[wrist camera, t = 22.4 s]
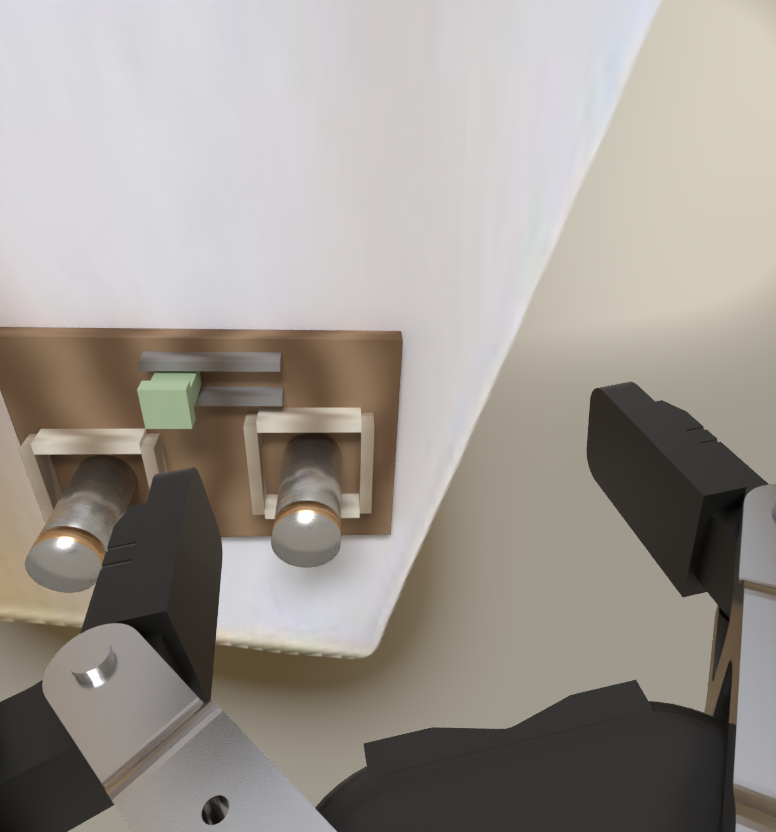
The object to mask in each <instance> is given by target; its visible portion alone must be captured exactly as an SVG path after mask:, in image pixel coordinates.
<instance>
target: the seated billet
mask: <svg viewBox="0 0 776 832" xmlns="http://www.w3.org/2000/svg"><path fill="white" fill-rule="evenodd" d="M136 486H137V476H136V474H135V472H134V470H133V469H132V468H131V467H130V466H129V465H128V464H127V463H125V462H124V461H122V460H120V459H118V458H116V457H112V456H108V455H95V456H91V457H88V458H86V459H84V460H83V461H82V462H81V463H80V464H79V466H78V468H77V469H76V471H75V473H74V475H73V476H72V478H71V480H70V482H69V483H68V485H67V487H66V489H65V491H64V492H63V494H62V496H61V498H60V499H59V501H58V503H57V505H56V506H55V508H54V510H53V512H52V513H51V515H50V517H49V519H48V521H47V522H46V524H45V526H44V528H43V529H42V531H41V533H40V535H39V536H38V538H37V539H36V541H35V543H34V545H33V546H32V548H31V550H30V552H29V554H28V556H27V558H26V560H25V567H26V571H27V572H28V574H29V575H30V577H31V578H32V579H33V580H34V581H36V582H37V583H38V584H40V585H42V586H43V587H46V588H48V589H51V590H54V591H58V592H66V593H72V592H80V591H83V590H86V589H88V588H90V587H91V586H93V585H94V584H95V582H96V581H97V579H98V575H99V572H100V570H101V569H102V562H103V559H104V556H105V553H106V552H108V549H107V546H108V543H109V540H110V537H111V534H112V530H113V527H114V525H115V524H116V523H117V522H118V521H119V519H120V518H121V517H122V516H123V514H124V513H125V512H126V510H127V508H128V505H129V503H130V501H131V498H132V496H133V494H134V491H135V489H136Z"/></svg>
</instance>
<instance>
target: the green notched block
mask: <svg viewBox="0 0 776 832" xmlns="http://www.w3.org/2000/svg"><path fill="white" fill-rule="evenodd" d="M201 386H202V382H201V375H200V371H155V373H154V375H153V377H152V379H151V381H141V383H140V385H139V387H138V389H137V392H138V397H139V401H140V406H141V410H142V415H143V420H144V424H145V429H192V428H193V425H194V423H195V420H196V418H195V412H194V405H195V402H196V400H197V397H198V394H199V391H200V389H201Z"/></svg>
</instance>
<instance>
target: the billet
mask: <svg viewBox="0 0 776 832" xmlns="http://www.w3.org/2000/svg"><path fill="white" fill-rule="evenodd" d="M341 471H342V454H341V450H340V447H339V446H338V444H337V443H336V442H335V441H334V440H333V439H331V438H330V437H328V436H326V435H323V434H320V433H304V434H301V435H298V436H296V437H294V438H293V439H292V440H291V441H290V442H289V443H288V444H287V445H286V447H285V450H284V456H283V463H282V470H281V477H280V484H279V491H278V498H277V505H276V512H275V519H274V524H273V531H272V540H271V545H272V549H273V551H274V553H275V554H276V555H277V556H278V557H279V558H280V559H281V560H282V561H284V562H286V563H288V564H290V565H293V566H297V567H316V566H320V565H323V564H325V563H327V562H329V561H330V560H332V559H333V558H334V557H335V556H336V555H337V553H338V551H339V549H340V540H341Z"/></svg>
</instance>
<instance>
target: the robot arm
mask: <svg viewBox="0 0 776 832" xmlns="http://www.w3.org/2000/svg"><path fill="white" fill-rule="evenodd" d="M587 460H588V464H589V468H590V471H591V473H592V475H593V477H594V479H595V481H596V482H597V483H598V484H599V486H600V487H601V489H602V490H603V491H604V493H605V494H606V495H607V497H608V498H609V499H610V501H611V502H612V503H613V505H614V506H615V507H616V509H617V510H618V511H619V513H620V514H621V515H622V517H623V518H624V519H625V521H626V522H627V523H628V525H629V526H630V527H631V529H632V530H633V531H634V533H635V534H636V535H637V537H638V538H639V539H640V541H641V542H642V543H643V545H644V546H645V547H646V549H647V550H648V551H649V553H650V554H651V556H652V557H653V558H654V559H655V561H656V562H657V564H658V565H659V566H660V568H661V569H662V570H663V571H664V573H665V574H666V576H667V577H668V578H669V580H670V581H671V582H672V583H673V585H674V586H675V587H676V589H677V590H678V592H679V593H680V594H681V596H682V597H686V596H690V595H695V594H700V593H704V592H708V593H709V594H710V596H711V597H712V598H713V599H714V601H715V602H716V603H717V604H718V605H717V609H716V614H715V622H714V631H713V641H712V652H711V661H710V672H709V681H708V691H707V700H706V706H705V712H704V713H703V712H700V711H697V710H694V709H691V708H687V707H683V706H679V705H675V704H669V703H662V702H653V701H648V700H647V698H646V697H645V695H644V693H643V691H642V690H641V688H640V686H639V684H638V683H637V681H636V680H633V681H629V682H625V683H620V684H616V685H612V686H608V687H603V688H599V689H595V690H590V691H586V692H582V693H578V694H574V695H570V696H568V697H566V698H565V699H563V700H561V701H559V702H558V703H556V704H554V705H552V706H550V707H548V708H547V709H545V710H543V711H541V712H539V713H537V714H536V715H534V716H532V717H530V718H528V719H527V720H525V721H523V722H521V723H519V724H517V725H516V726H513V727H511V728H507V729H474V728H428V729H424V730H420V731H415V732H411V733H407V734H403V735H398V736H394V737H390V738H385V739H381V740H377V741H373V742H369V743H364V749H365V757H366V763H367V767H364V768H363V769H361V770H359V771H357V772H355V773H354V774H352V775H351V776H349V777H348V778H347V779H345V780H344V781H342V782H341V783H340V784H338V785H337V786H336V787H335V788H334V789H333V790H332V791H331V792H330V793H328V794H327V795H326V796H325V797H324V798H323V799H322V801H321V802H320V803H319V804H318V805H317V806H316V807H315V808H314V807H313V806H312V805H311V804H310V802H309V801H308V800H307V799H306V798H305V797H304V796H303V795H302V794H301V793H300V792H299V791H298V790H297V789H296V788H295V787H294V785H292V783H291V782H290V781H289V780H288V779H287V778H286V777H285V776H284V775H283V774H282V773H281V772H280V771H279V770H278V769H277V767H276V766H275V765H274V764H273V763H272V762H271V761H270V760H269V759H268V758H267V757H266V756H265V755H264V754H263V753H262V752H261V750H260V749H259V748H258V747H257V746H256V745H255V744H254V743H253V742H252V741H251V740H250V739H249V738H248V737H247V736H246V734H245V733H244V732H243V731H242V730H241V729H240V728H239V727H238V726H237V725H236V724H235V723H234V722H233V721H232V720H231V719H230V717H229V716H227V714H226V713H225V712H224V711H223V710H222V709H221V708H220V707H219V706H218V705H217V704H216V703H214V702H213V701H212V700H210V699H211V688H212V676H213V664H214V652H215V640H216V628H217V616H218V604H219V592H220V580H221V568H222V543H221V536H220V532H219V528H218V525H217V522H216V519H215V516H214V513H213V511H212V508H211V505H210V502H209V499H208V497H207V494H206V491H205V488H204V485H203V482H202V480H201V477H200V474H199V472H198V470H197V469H196V468H195V467H191V468H186V469H181V470H176V471H170V472H165V473H160V474H155V475H154V477H153V479H152V483H151V487H150V491H149V495H148V499H147V503H142V504H137V505H132V506H130V507H129V508H128V510H127V511H126V512H125V513H124V514H123V516H122V517H121V518H120V519H119V521H118V522H117V523H116V524H115V525H114V527H113V530H112V534H111V537H110V540H109V543H108V546H107V549H108V552H106V553H105V556H104V559H103V562H102V569H101V570H100V572H99V575H98V579H97V582H96V585H95V588H94V591H93V595H92V598H91V601H90V604H89V607H88V611H87V614H86V617H85V620H84V624H83V627H82V630H81V633H80V634H79V635H78V636H76V637H75V638H73V639H72V640H71V641H69V642H68V643H67V644H66V645H64V646H63V647H62V648H61V649H60V650H59V651H58V652H57V654H56V655H55V656H54V657H53V659H52V660H51V662H50V663H49V665H48V667H47V669H46V671H45V674H44V677H43V680H42V681H40V682H39V683H37V684H36V685H34V686H32V687H30V688H28V689H26V690H25V691H23V692H20V693H18V694H16V695H14V696H12V697H10V698H8V699H6V700H4V701H1V702H0V832H67V831H69V830H71V829H73V828H74V827H76V826H78V825H80V824H81V823H83V822H85V821H86V820H88V819H90V818H92V817H94V816H95V815H97V814H99V813H100V812H102V811H104V810H106V809H108V808H110V807H111V806H113V805H115V807H116V808H117V809H118V811H119V813H120V814H121V816H122V817H123V819H124V820H125V822H126V823H127V825H128V827H129V828H130V830H131V831H132V832H776V484H768V483H767V482H766V481H764V480H763V479H762V478H761V477H760V476H759V475H758V474H756V473H755V472H754V471H753V470H752V469H751V468H750V467H749V466H747V465H746V464H745V463H744V462H743V461H742V460H741V459H740V458H738V457H737V456H736V455H735V454H734V453H733V452H732V451H730V450H729V449H728V448H727V447H726V446H725V445H724V444H723V443H721V442H718V441H717V438H716V437H715V436H713V435H712V434H711V433H710V432H709V431H708V430H704V429H703V426H702V425H701V424H700V423H699V422H698V421H696V420H695V419H694V418H693V417H692V416H691V415H690V414H689V413H687V412H686V411H684V410H682V409H680V408H677V407H675V406H673V405H671V404H669V403H667V402H664V401H662V400H661V401H657V402H655V401H654V400H653V399H652V398H651V397H650V396H648V395H647V394H646V393H645V392H644V391H643V390H642V389H641V388H640V387H639V386H638V385H637V384H635V383H633V382H627V383H622V384H617V385H611V386H606V387H601V388H596V389H594V390H593V392H592V394H591V398H590V411H589V425H588V439H587Z"/></svg>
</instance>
